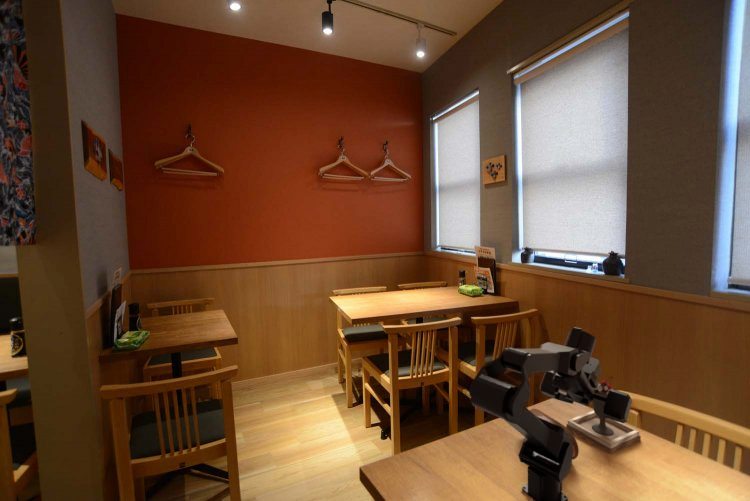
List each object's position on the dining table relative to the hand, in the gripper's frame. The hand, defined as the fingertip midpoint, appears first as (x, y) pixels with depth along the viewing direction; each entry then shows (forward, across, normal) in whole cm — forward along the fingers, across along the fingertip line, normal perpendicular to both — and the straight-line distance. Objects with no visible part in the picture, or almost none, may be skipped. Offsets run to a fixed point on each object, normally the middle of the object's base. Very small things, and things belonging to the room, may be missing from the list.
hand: (592, 408), depth 88 cm
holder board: (+12, 0, +2) cm, 12 cm away
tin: (0, +6, +14) cm, 15 cm away
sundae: (+11, 0, +1) cm, 11 cm away
